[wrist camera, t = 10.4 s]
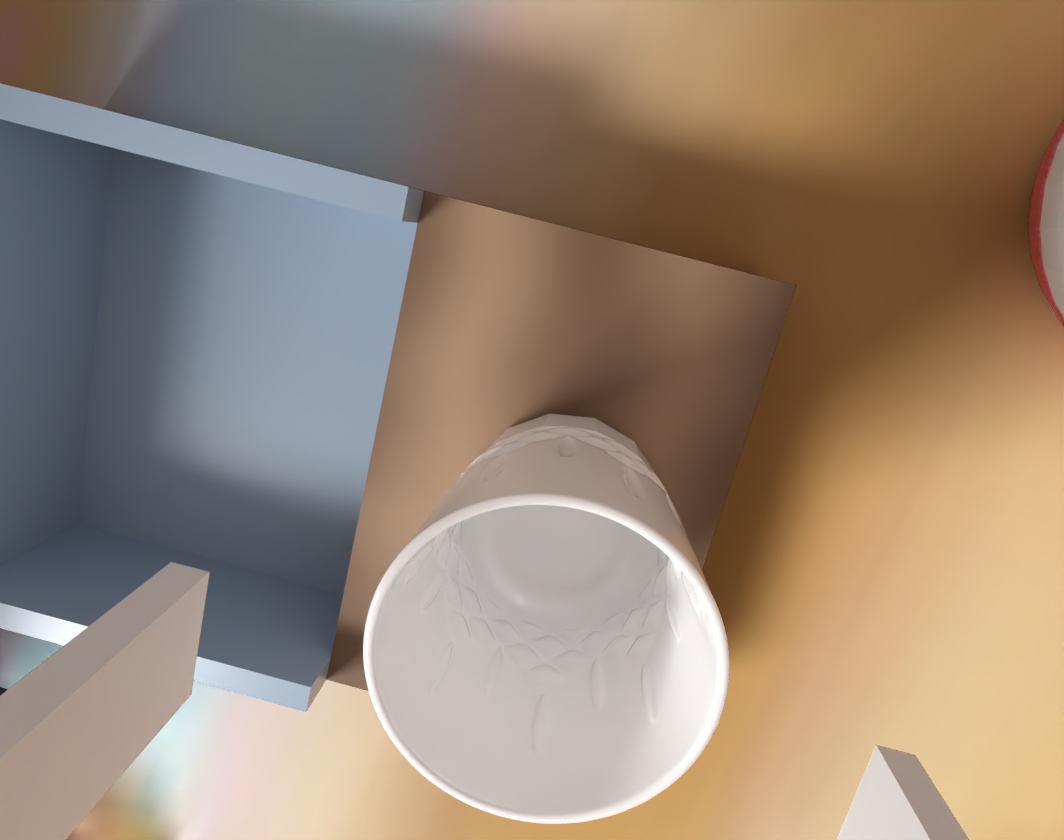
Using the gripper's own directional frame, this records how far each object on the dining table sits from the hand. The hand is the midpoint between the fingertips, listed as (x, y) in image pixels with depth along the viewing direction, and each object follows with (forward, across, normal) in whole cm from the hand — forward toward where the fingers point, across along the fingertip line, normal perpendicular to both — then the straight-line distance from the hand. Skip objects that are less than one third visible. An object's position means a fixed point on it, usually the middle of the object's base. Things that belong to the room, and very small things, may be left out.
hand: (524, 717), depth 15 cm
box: (+17, -13, 0) cm, 22 cm away
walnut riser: (+17, 0, 0) cm, 17 cm away
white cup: (+12, 0, 0) cm, 12 cm away
